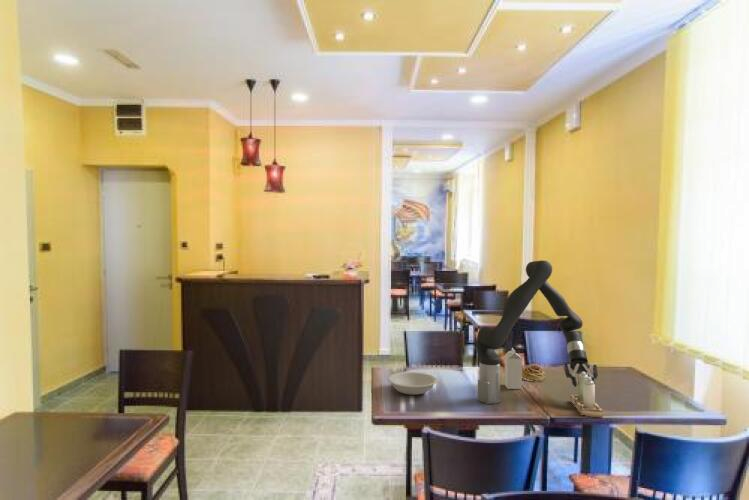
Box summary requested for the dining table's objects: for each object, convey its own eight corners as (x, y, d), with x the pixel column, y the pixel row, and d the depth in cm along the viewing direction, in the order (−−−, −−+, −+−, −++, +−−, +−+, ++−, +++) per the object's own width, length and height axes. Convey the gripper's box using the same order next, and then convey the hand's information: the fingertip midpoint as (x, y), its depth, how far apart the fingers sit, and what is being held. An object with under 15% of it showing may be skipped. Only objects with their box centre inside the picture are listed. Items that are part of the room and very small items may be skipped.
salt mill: (591, 409, 187) (591, 379, 187) (581, 406, 191) (581, 376, 191) (596, 407, 190) (596, 377, 190) (586, 404, 193) (586, 375, 193)
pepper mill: (585, 402, 196) (585, 373, 195) (575, 399, 199) (576, 371, 199) (590, 400, 198) (591, 372, 198) (580, 397, 202) (581, 369, 201)
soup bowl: (435, 402, 201) (436, 388, 201) (383, 399, 206) (383, 384, 206) (439, 386, 225) (439, 373, 225) (391, 383, 230) (391, 370, 230)
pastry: (530, 383, 231) (531, 367, 231) (513, 375, 245) (513, 360, 245) (552, 381, 235) (552, 365, 235) (534, 373, 249) (534, 358, 249)
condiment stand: (602, 417, 185) (602, 410, 185) (582, 416, 186) (582, 408, 186) (589, 402, 203) (589, 395, 203) (570, 401, 204) (570, 394, 204)
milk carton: (518, 385, 227) (519, 347, 227) (522, 389, 220) (522, 351, 220) (504, 384, 228) (504, 347, 228) (507, 389, 221) (507, 350, 220)
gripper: (562, 348, 207) (568, 381, 195) (595, 349, 204) (603, 383, 193) (559, 356, 212) (565, 389, 201) (591, 358, 210) (599, 391, 198)
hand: (584, 386), depth 197 cm, fingers open, 6 cm apart
